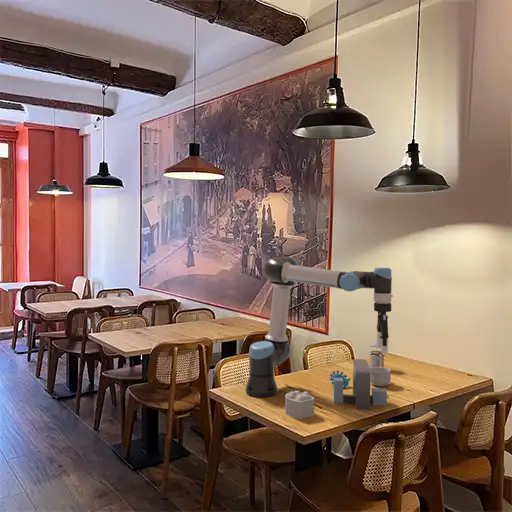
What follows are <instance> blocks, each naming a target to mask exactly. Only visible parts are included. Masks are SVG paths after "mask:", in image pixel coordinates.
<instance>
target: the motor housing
mask: <svg viewBox="0 0 512 512" xmlns="http://www.w3.org/2000/svg"><path fill="white" fill-rule="evenodd" d="M370 373H371V370H370V364H369V362H368V360H367V359H364V358H363V359H360V358H357V359H356V358H355V359H352V395H355V403H354V407H355V410H358V411H370V410H371V404H370V395H371V382H370Z"/></svg>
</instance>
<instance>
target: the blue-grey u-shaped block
mask: <svg viewBox="0 0 512 512" xmlns="http://www.w3.org/2000/svg"><path fill="white" fill-rule="evenodd" d="M333 382H334V384H333V403H334V404H346V403H347V404H348V403H349V404H355V395H353V394H347V393H345V394H344V388H343V387H344V385H343V378H334V381H333ZM387 400H390V396H389V395H388V392H387V388H382V387H371V394H370V405H373V406H388V403H387V402H388V401H387Z"/></svg>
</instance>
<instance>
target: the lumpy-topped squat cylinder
mask: <svg viewBox="0 0 512 512" xmlns="http://www.w3.org/2000/svg"><path fill="white" fill-rule="evenodd" d="M284 398H285V399H284V400H285V402H284V403H285V404H284V405H285V406H284V408H285V409H284V411H285V415H287V416H288V415H289V417H290V416H291V417H290V418H292V417H293V419H295V418H296V419H295V420H304V419H307V418H313V417H314V416H315V397H314V396H311V395H310V393H309V392H308V391H303V392H301V391H300V390H294V391H293V390H292V391H289V392H287V393H286V394H285V397H284ZM303 418H304V419H303Z"/></svg>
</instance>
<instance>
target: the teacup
mask: <svg viewBox="0 0 512 512" xmlns="http://www.w3.org/2000/svg"><path fill="white" fill-rule="evenodd" d="M370 370H371V373H370V384H372V385H374V387H379V388H382V387H387V386H388V385H389V384H390V382H391V380H392V379H391V377H392V376H391V372H392V371H391V369H390V368H388V367H385V366H384V367H374V368H370Z"/></svg>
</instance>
